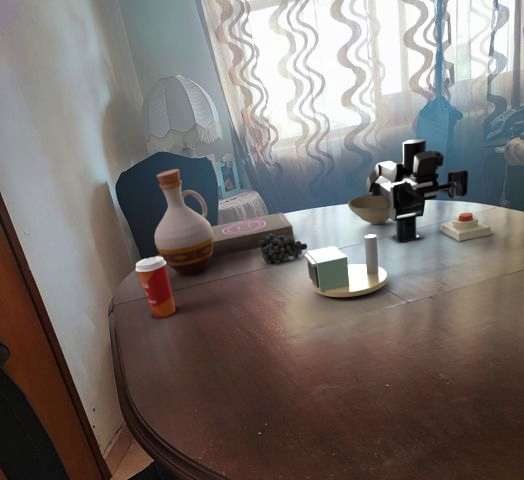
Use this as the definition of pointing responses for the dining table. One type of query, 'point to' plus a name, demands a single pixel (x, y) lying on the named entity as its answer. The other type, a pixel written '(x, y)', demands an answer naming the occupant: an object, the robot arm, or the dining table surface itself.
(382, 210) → the bowl
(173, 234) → the jug
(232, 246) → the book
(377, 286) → the round platter with block
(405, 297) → the dining table surface
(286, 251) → the fruit
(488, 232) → the box
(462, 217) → the button
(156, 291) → the paper cup
